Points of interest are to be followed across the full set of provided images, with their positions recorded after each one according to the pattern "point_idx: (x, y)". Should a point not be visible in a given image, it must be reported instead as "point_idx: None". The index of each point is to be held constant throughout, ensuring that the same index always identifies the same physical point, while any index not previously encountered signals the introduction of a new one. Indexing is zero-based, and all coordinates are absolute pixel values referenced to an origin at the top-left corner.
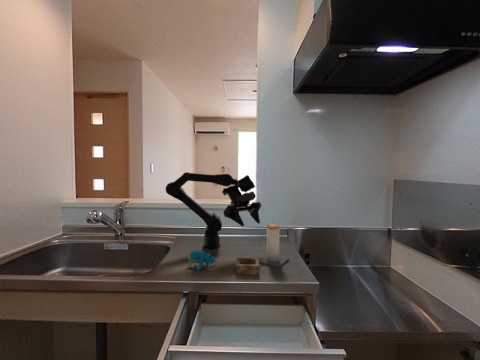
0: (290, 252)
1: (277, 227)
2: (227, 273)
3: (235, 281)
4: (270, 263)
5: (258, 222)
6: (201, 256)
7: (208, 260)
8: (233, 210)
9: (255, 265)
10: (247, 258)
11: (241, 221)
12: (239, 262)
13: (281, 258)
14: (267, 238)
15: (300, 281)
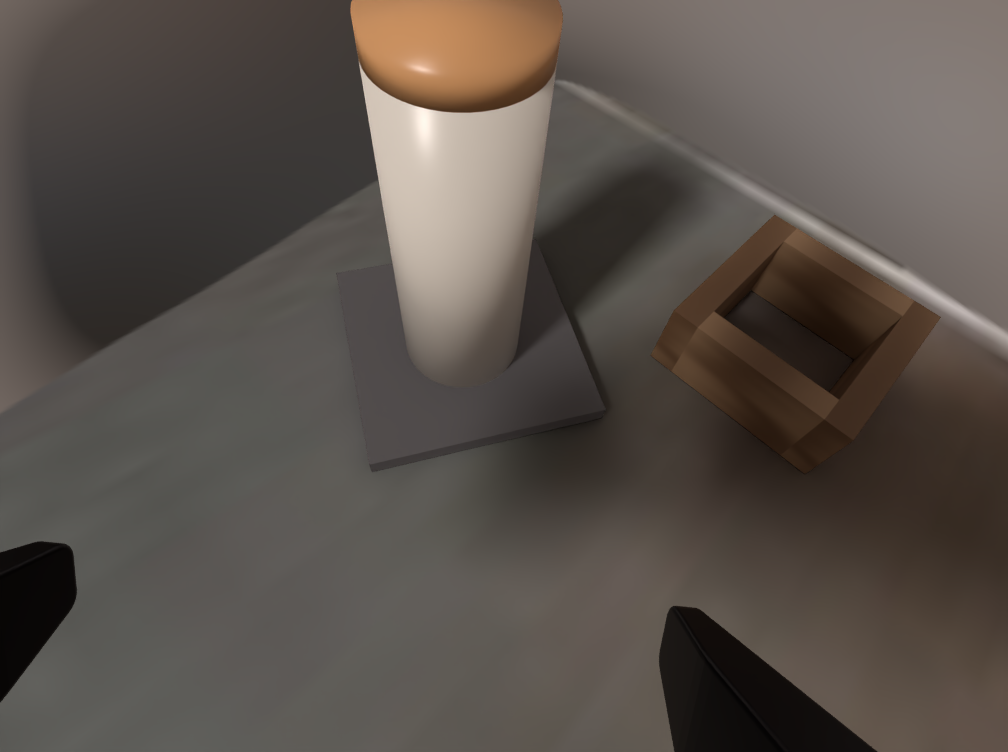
0: (114, 376)
1: None
2: (940, 424)
3: (934, 304)
4: (551, 301)
5: (59, 581)
6: None
7: None
8: None
9: (797, 234)
10: (769, 360)
11: (778, 684)
12: (886, 343)
13: (385, 306)
14: (531, 208)
15: (597, 107)
